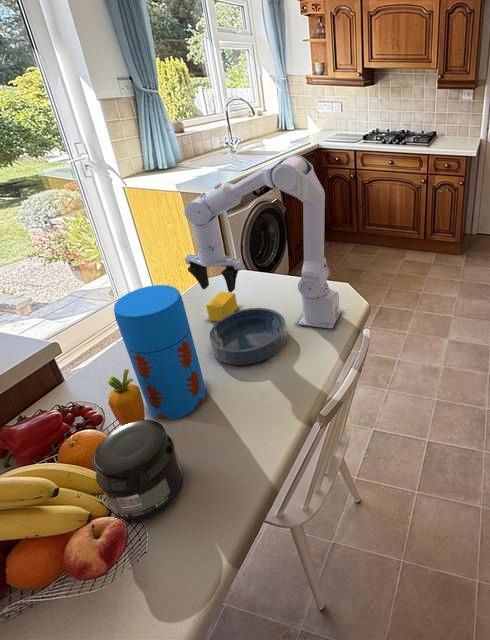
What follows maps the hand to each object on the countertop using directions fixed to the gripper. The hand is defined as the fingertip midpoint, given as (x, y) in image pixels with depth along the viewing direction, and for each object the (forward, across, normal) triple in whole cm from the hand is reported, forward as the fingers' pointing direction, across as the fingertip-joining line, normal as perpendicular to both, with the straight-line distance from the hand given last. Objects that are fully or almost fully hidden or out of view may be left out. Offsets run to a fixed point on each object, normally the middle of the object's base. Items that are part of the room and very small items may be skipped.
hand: (218, 288), depth 109 cm
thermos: (+8, -7, +30) cm, 32 cm away
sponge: (+8, 0, 0) cm, 8 cm away
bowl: (+8, -13, +10) cm, 19 cm away
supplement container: (+8, -15, +49) cm, 52 cm away
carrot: (+8, -5, +39) cm, 40 cm away
